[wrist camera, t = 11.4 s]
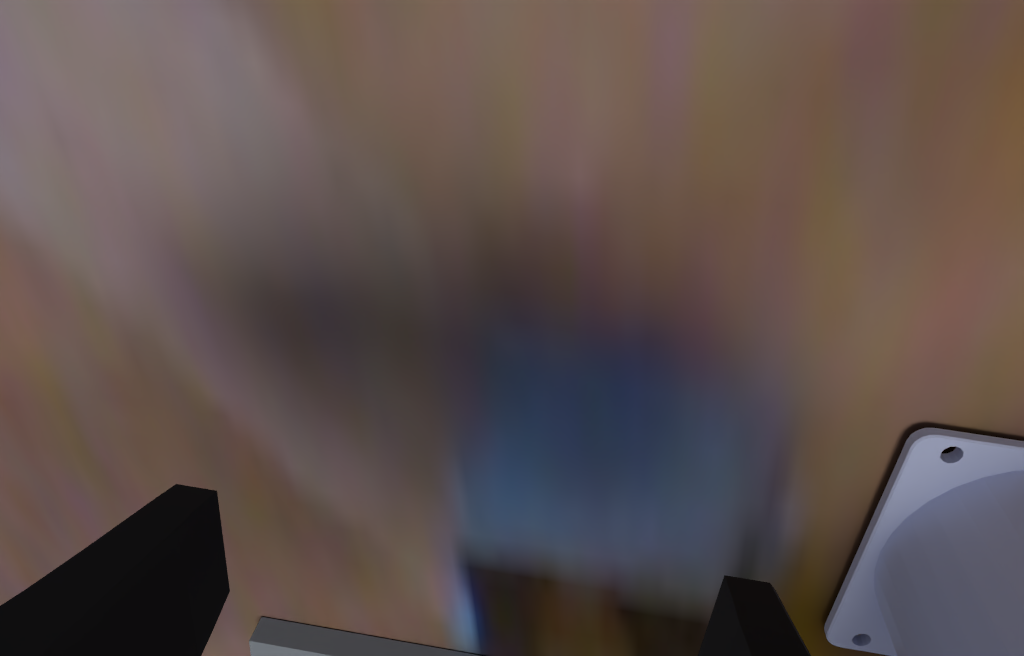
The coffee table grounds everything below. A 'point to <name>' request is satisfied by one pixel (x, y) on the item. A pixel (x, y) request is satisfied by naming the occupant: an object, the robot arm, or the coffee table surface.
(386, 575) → the coffee table surface
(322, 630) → the display stand
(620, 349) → the coffee table surface
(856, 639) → the robot arm
